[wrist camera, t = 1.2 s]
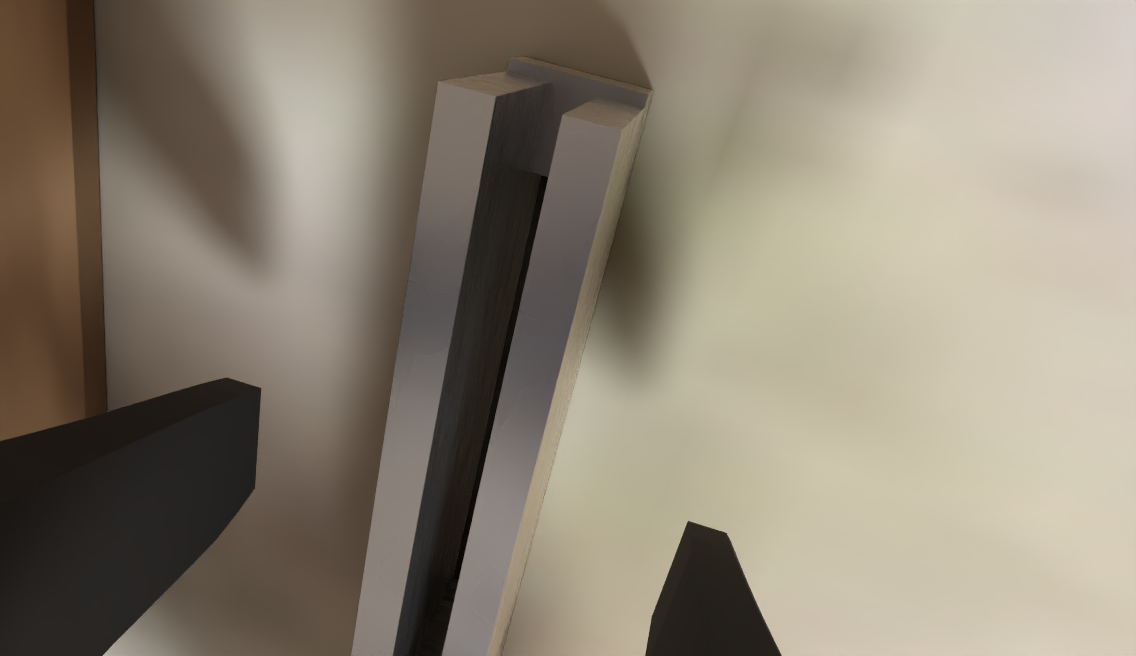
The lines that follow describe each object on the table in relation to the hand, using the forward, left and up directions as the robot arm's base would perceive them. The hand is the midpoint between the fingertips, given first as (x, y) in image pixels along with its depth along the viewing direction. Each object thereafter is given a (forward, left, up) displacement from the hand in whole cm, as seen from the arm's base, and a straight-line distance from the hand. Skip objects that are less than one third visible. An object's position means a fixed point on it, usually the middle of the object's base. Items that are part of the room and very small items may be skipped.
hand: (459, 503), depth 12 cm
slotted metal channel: (0, 0, -3) cm, 3 cm away
